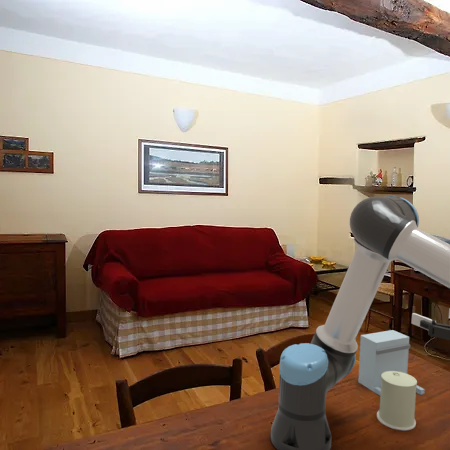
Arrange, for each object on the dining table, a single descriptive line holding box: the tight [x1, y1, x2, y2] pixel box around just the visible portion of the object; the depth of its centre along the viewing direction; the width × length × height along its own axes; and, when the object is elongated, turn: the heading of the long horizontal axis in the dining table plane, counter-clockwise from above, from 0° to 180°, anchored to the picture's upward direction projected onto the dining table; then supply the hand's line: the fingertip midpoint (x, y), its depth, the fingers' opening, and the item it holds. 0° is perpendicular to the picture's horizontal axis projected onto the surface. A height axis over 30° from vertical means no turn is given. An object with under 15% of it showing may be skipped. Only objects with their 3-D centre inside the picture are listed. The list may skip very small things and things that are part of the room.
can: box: [378, 371, 418, 427], centre depth 114 cm, size 9×9×12 cm
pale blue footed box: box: [357, 329, 426, 397], centre depth 132 cm, size 14×14×16 cm
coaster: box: [376, 409, 417, 432], centre depth 114 cm, size 10×10×1 cm
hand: (431, 315), depth 108 cm, fingers open, 13 cm apart
